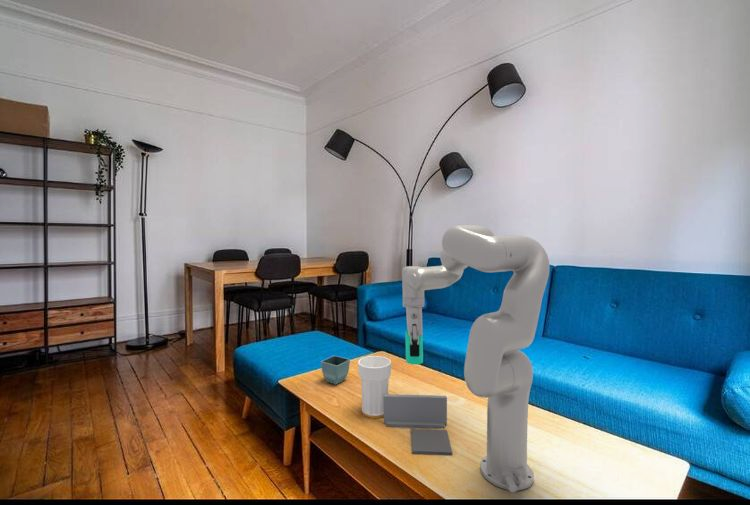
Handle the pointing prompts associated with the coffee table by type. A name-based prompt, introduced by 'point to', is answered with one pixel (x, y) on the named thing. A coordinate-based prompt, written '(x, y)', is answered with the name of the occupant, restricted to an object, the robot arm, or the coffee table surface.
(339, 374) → the flower pot
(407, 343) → the candle
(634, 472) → the coffee table surface
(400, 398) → the board
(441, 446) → the mat
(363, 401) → the cup
